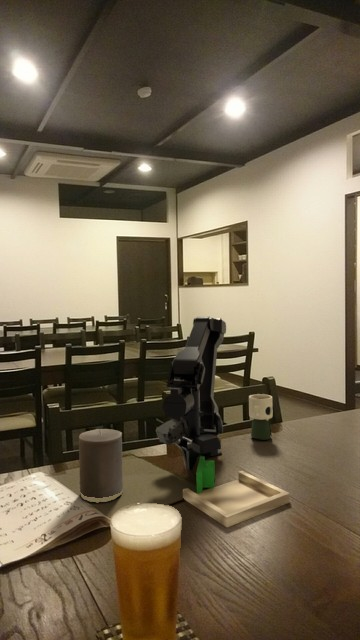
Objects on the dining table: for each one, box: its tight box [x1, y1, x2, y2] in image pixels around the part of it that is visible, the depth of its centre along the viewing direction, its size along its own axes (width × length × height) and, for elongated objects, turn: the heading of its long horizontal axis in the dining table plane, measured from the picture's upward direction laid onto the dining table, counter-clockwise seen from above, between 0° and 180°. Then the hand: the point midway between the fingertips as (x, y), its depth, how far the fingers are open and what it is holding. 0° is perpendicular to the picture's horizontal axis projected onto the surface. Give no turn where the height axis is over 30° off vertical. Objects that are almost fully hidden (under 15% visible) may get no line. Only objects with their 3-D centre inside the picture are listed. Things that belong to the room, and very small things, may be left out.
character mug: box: [248, 393, 274, 441], centre depth 136 cm, size 11×7×13 cm, turn 153°
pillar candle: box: [78, 428, 124, 498], centre depth 101 cm, size 10×10×15 cm
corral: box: [182, 470, 291, 528], centre depth 96 cm, size 15×17×2 cm
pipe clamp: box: [195, 456, 216, 493], centre depth 105 cm, size 11×4×5 cm, turn 173°
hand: (190, 469), depth 110 cm, fingers closed
